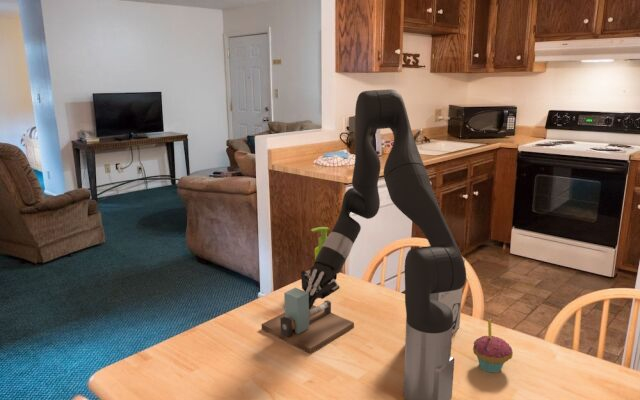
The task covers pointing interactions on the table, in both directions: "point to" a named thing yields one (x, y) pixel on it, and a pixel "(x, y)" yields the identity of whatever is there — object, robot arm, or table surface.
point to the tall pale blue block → (297, 308)
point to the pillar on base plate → (310, 328)
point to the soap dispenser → (320, 238)
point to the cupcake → (492, 351)
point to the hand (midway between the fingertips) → (304, 308)
